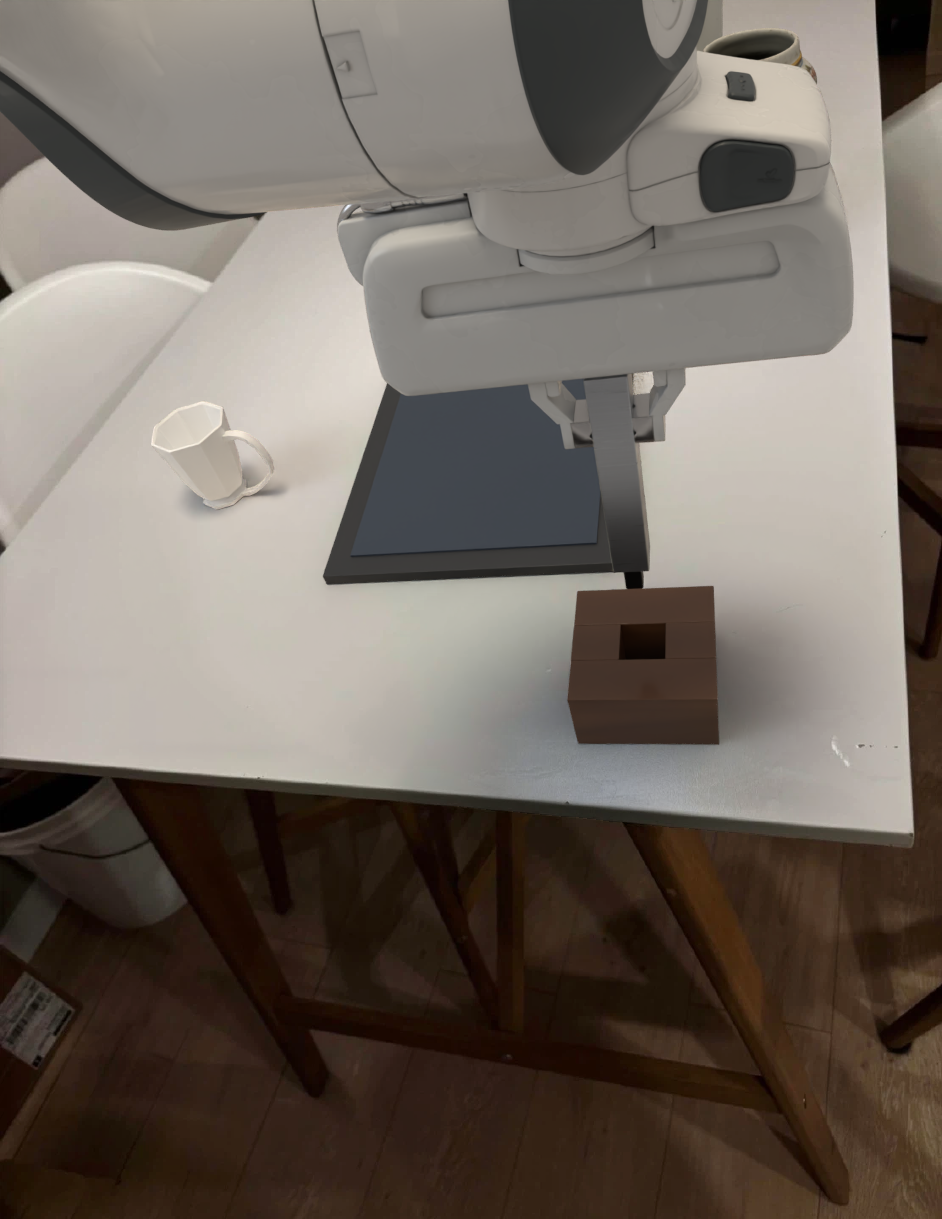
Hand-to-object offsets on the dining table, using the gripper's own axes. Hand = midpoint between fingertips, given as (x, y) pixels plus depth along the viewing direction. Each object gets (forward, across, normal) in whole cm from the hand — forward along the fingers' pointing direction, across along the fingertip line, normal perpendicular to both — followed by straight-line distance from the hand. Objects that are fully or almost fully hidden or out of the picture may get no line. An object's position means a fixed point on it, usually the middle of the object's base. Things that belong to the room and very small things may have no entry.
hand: (616, 437), depth 43 cm
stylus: (+11, 0, 0) cm, 11 cm away
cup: (+21, -38, +22) cm, 49 cm away
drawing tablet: (+21, -14, +30) cm, 40 cm away
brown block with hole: (+21, 0, 0) cm, 21 cm away
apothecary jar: (+22, +9, +56) cm, 61 cm away
